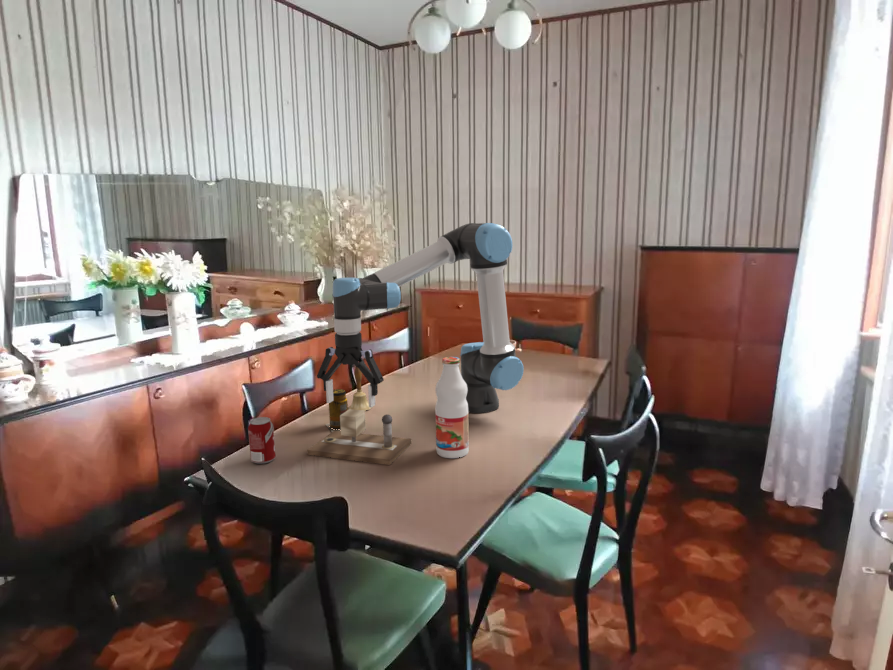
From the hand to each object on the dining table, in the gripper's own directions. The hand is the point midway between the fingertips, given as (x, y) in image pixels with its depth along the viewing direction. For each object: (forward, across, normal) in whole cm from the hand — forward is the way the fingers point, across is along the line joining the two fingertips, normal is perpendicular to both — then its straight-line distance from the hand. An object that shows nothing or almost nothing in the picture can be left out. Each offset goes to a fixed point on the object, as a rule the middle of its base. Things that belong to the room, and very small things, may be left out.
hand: (350, 404), depth 172 cm
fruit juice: (+14, -29, -5) cm, 33 cm away
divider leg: (+12, 0, 0) cm, 12 cm away
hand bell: (+14, +15, -34) cm, 40 cm away
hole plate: (+14, -2, 0) cm, 14 cm away
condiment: (+14, +13, -15) cm, 24 cm away
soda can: (+14, +21, +15) cm, 29 cm away
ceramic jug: (+13, -23, -91) cm, 95 cm away
